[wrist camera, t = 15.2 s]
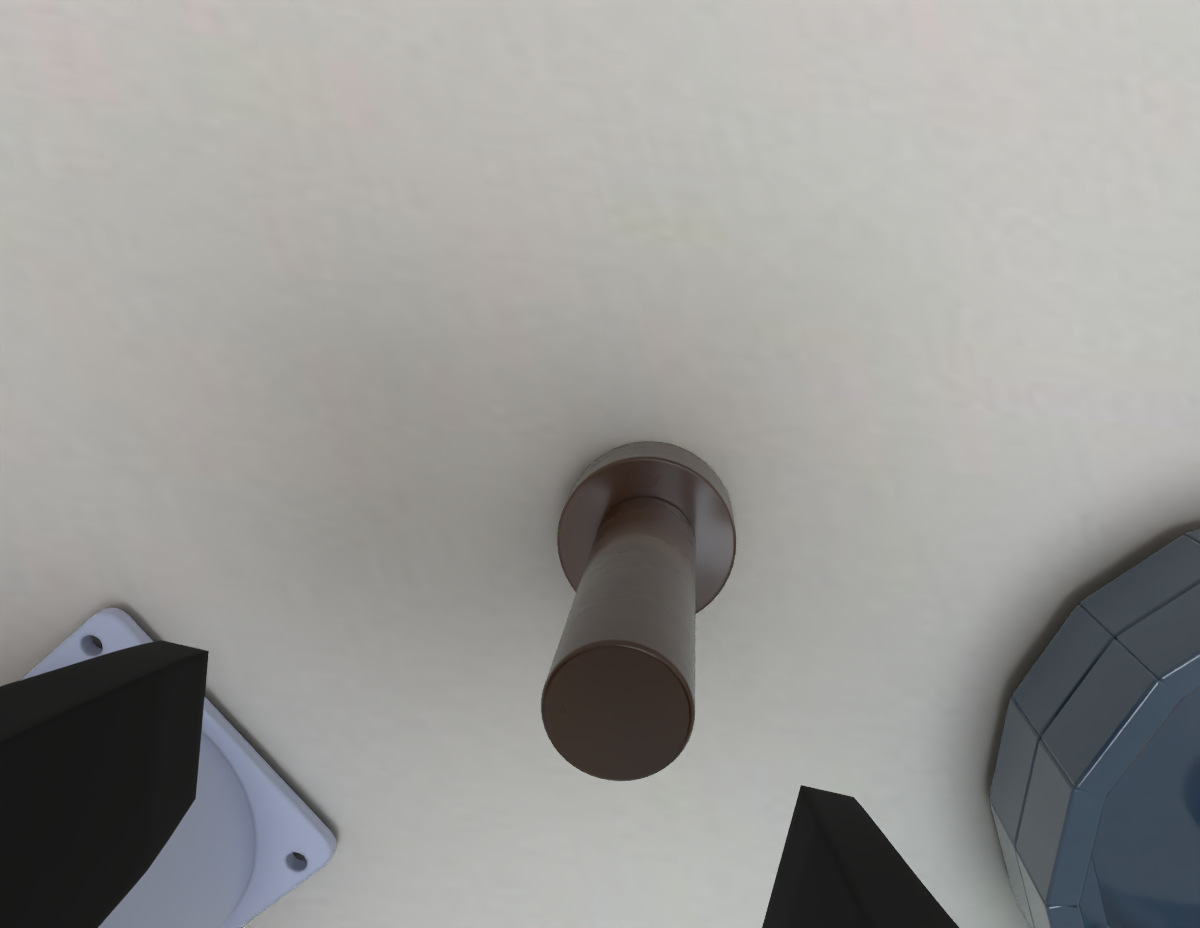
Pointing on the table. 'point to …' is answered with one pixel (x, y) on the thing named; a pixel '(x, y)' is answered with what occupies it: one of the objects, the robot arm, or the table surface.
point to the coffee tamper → (635, 607)
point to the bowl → (1110, 757)
